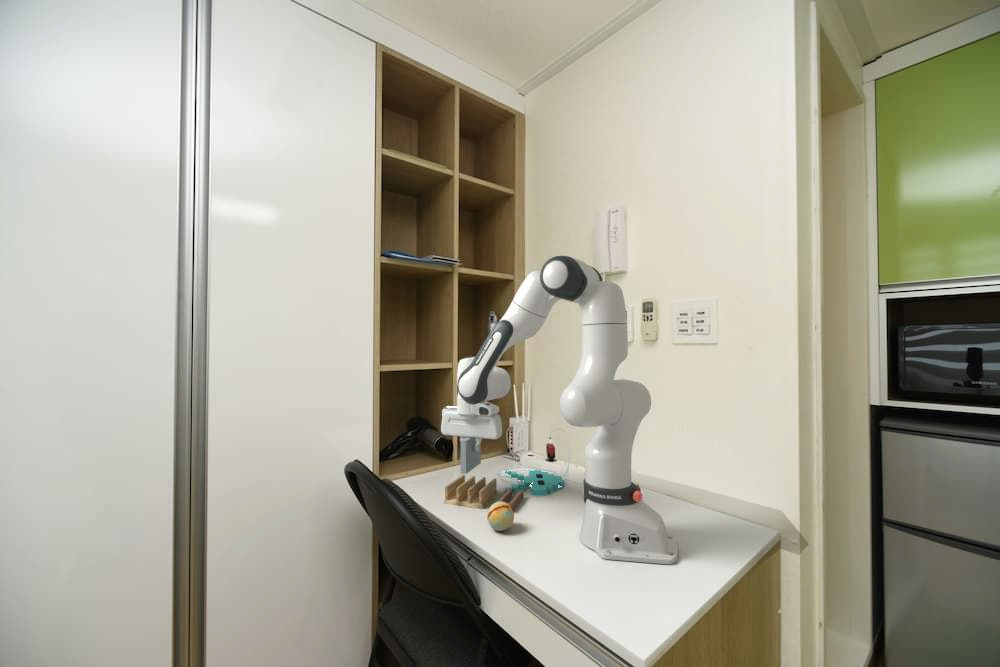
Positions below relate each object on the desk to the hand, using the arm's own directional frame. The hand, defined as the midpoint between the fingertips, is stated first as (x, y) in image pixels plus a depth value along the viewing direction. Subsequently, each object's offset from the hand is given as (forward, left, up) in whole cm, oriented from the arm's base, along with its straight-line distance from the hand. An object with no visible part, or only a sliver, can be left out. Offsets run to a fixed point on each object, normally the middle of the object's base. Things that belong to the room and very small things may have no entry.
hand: (470, 450), depth 121 cm
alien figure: (-15, -19, -16) cm, 29 cm away
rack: (0, 0, -15) cm, 15 cm away
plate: (0, 0, -5) cm, 5 cm away
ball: (-16, +16, -15) cm, 27 cm away
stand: (-13, 0, -15) cm, 20 cm away
